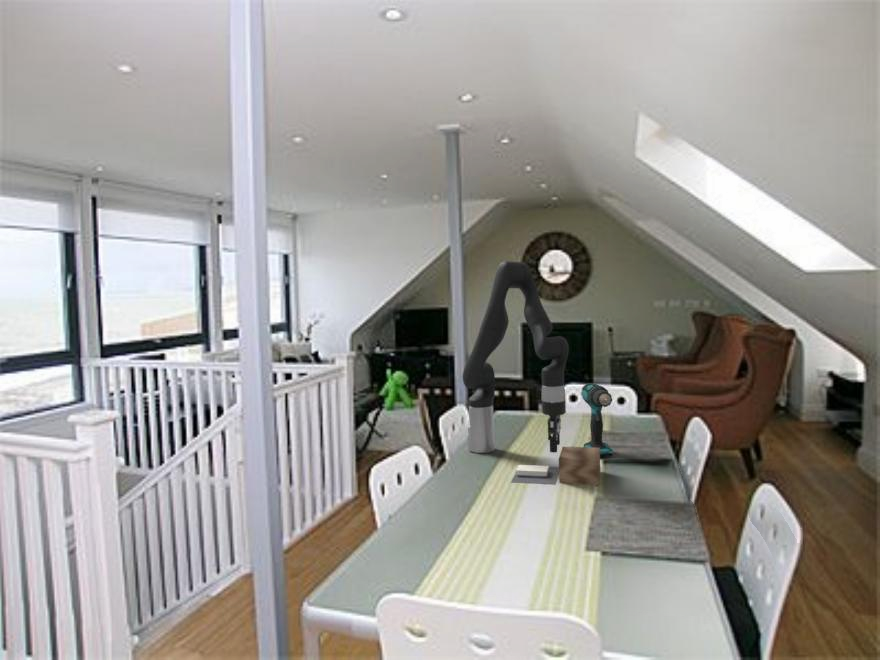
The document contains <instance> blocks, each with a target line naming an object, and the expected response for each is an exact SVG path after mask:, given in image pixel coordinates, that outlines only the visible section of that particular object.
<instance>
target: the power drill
mask: <svg viewBox="0 0 880 660" xmlns="http://www.w3.org/2000/svg"><path fill="white" fill-rule="evenodd" d="M580 393H581V397H582V400H583V401H584V402H585V403H586V404H587V405H588V406H589V407H590V409H591V410H590V412H591V414H590V421H589V422H590V424H589V427H590V436H591V439H590V441H588V442H585V443H584V444H583V447H592V448H600V455H604V454H603V453H608V454H610V452H612V453H613V449H612V448H611V447H610V446H609V444H608V443H606V442H603V432H604V431H603V430H604V423H603V415H602V410H603V407H604V408H606V407H608V406H610V405H611V404H612V402H613V398H612V394H611V393H610V392H609V390H608V389H607V388H606V387H604V386H602V385H599V384H596V383H594V382H589V383H588V382H587V383H585V384H584V385H583V386H582V388H581V392H580Z"/></svg>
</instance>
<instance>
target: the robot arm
mask: <svg viewBox="0 0 880 660" xmlns="http://www.w3.org/2000/svg"><path fill="white" fill-rule="evenodd" d="M492 283H493V284H492V288H491V292H490V297H489V300H488V304H487V308H486V310H485V313H484V316H483V318H482V320H481V321H482V322H481V324H480V327H479V329H478V330H479V331H478V334H477V337H476V340H475V342H474V346H473V348H472V351H471V353H470V355H469V357H468V359H467V362H466V364H465V365H464V368H463V372H462V381H463V385H464V386H465V387H466V388H467V389H470V390H474V389H475V392H474V393H473V394H472V395H471V396H470V397H469V398H468V402H467V403H468V421H469V422H468V424H469V425H468V427H467V430H468V431H467V434H468V436H467V437H468V438H467V439H468V451H469V452H472V453H475V454H476V453H477V454H484V453H485V454H486V453H491V452H494V451H495V448H496V447H495V443H496V442H495V426H494V425H495V424H494V422H495V421H494V419H495V418H494V400H495V397H496V396H495V395H496V394H495V393H496V392H495V391H496V390H495V389H496V383H495V382H496V379H495V377H496V376H495V371H494V368H493V366H492V364H491V363H489V362H487V360H488V359H489V357H490V356H491V354H493V353H494V351H495V350H497V348H498V347H499V346H500V344H501V343H502V342H503V340H504V337H505V335H506V333H507V329H508V326H509V323H510V321H509V315H508V311H507V309H506V308H507V307H506V297H507V294H508V292H509V290H510V289H519V290H520V291H521V292H522V294H523V297H524V308H523V314H524V318H525V319H524V320H525V322H526V324H527V325H528V328H529V330H530V332H531V334H532V339H533V345H534V351H535V354H536V356H537V357H538V358H539V359H541V360H544V361H545V360H546V361H547V360H552V361H551V363H550V364H548V365H546V366H544V367H543V368H542V369H541V413H542V414H543V415H545V416H549V417H548V419H547V421H546V422H547V440H548V441H549V452H550V453H557V452H558V446H559V445H560V444H561V441H560V436H561V435H560V433H561V429H562V424H561V423H562V418H561V415H565V414H566V412H567V410H566V407H567V406H566V405H567V404H566V388H565V369H566V365H567V361H568V357H569V351H570V347H569V343H568V341H567V339H566V338H565V337H563V336H550V337H547V336H548V335H549V334H551V332H552V331H553V329H554V328H553V323H552V321H551V320H550V318H549V316H548V314H547V311H546V310H545V308H544V306H543V304H542V302H541V301H542V300H541V298H540V295H539V293H538V287H537V285H536V282H535V280H534V275H533V274H532V270H531V268H530V266H529V265H528V264H527V263H526V262H522V261H511V260H510V261H509V260H506V261H502V262H501V263H500V264H499V265H498V267H497V269H496V271H495V275H494V279H493V282H492Z"/></svg>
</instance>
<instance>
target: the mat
mask: <svg viewBox="0 0 880 660" xmlns="http://www.w3.org/2000/svg"><path fill="white" fill-rule="evenodd" d="M548 466H549V472H548V474H547V476H546V477H528V476H517V475H516V472H515V474H514V476H513V477H512V479H511V481H510V483H514V484H515V483H516V484H535V485H550V486H551V485H553V486H554V485H555V486H556V484H557V481H558V479H559V466H552V465H551V466H550V465H548Z"/></svg>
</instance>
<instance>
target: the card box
mask: <svg viewBox="0 0 880 660" xmlns="http://www.w3.org/2000/svg"><path fill="white" fill-rule="evenodd" d="M549 466H550V465H537V464H536V465H531V464H518V465H517V467H516V469H515V473H516V475H517V476H528V477H546V476H547V474H548V472H549Z"/></svg>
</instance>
